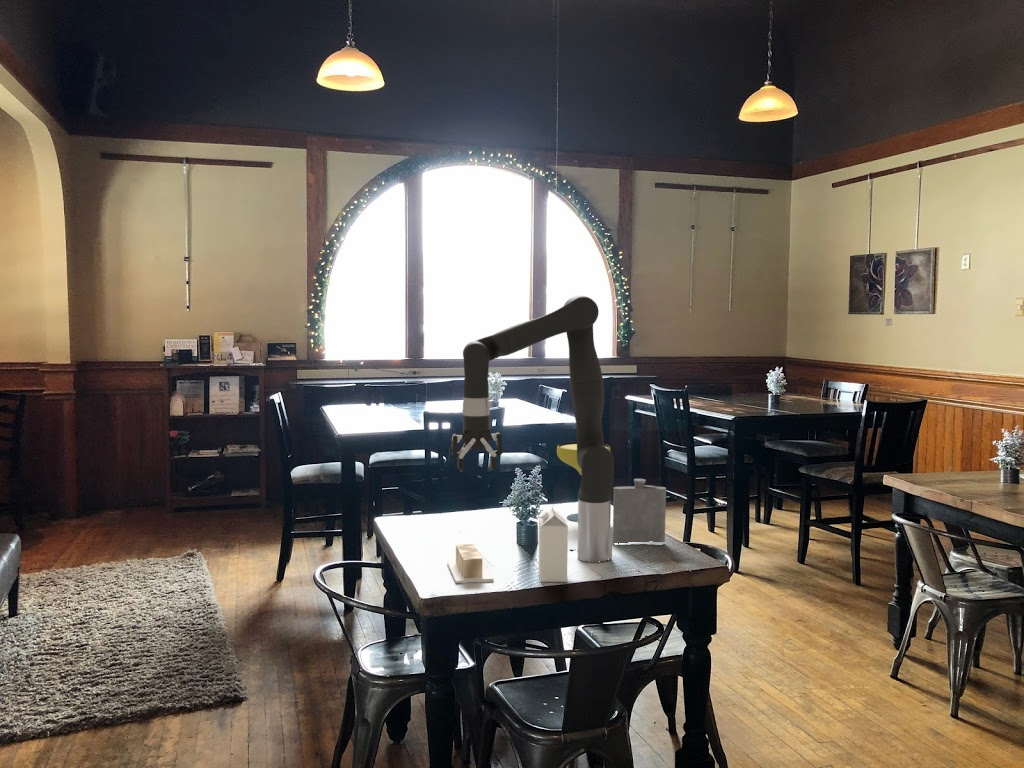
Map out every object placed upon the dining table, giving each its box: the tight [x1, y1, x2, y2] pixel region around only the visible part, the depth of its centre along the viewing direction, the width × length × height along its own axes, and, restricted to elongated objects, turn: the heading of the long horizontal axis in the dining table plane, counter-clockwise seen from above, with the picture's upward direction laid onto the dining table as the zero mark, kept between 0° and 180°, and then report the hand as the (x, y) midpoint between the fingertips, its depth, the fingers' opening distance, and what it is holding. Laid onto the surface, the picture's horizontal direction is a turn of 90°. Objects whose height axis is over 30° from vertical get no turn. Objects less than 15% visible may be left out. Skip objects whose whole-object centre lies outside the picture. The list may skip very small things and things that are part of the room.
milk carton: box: [538, 504, 569, 583], centre depth 226 cm, size 7×7×19 cm
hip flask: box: [612, 478, 667, 544], centre depth 259 cm, size 16×4×20 cm, turn 92°
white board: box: [447, 559, 495, 584], centre depth 231 cm, size 10×17×1 cm, turn 12°
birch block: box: [455, 543, 483, 578], centre depth 231 cm, size 5×5×14 cm
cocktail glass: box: [556, 441, 611, 522], centre depth 289 cm, size 18×18×25 cm
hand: (477, 470), depth 239 cm, fingers open, 8 cm apart
